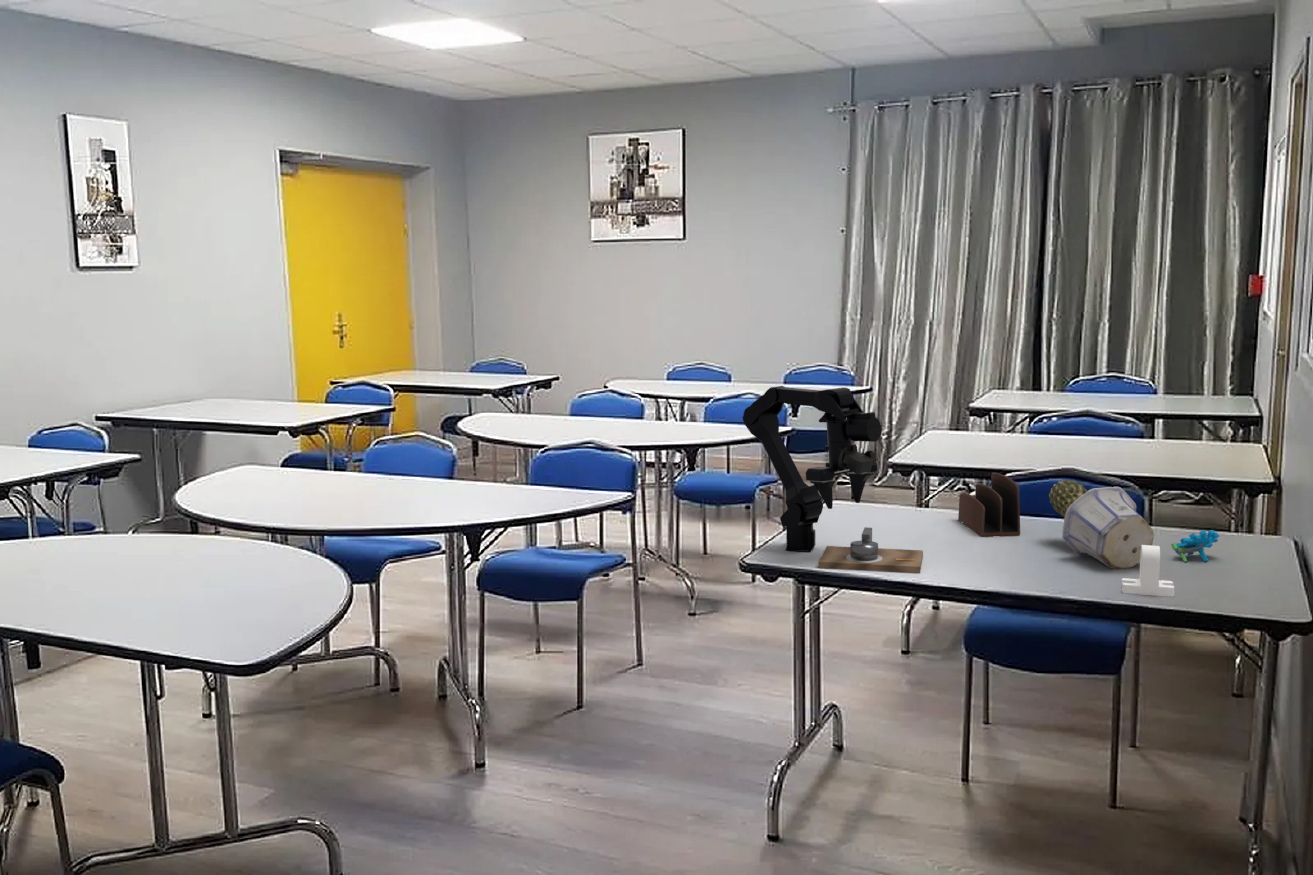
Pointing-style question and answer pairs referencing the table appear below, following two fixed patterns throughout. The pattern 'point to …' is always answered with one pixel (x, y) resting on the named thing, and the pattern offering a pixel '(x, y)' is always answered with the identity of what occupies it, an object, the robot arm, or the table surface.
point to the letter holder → (992, 508)
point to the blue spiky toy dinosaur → (1195, 544)
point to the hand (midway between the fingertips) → (843, 505)
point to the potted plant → (1101, 523)
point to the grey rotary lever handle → (864, 547)
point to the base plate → (873, 560)
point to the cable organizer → (1148, 576)
